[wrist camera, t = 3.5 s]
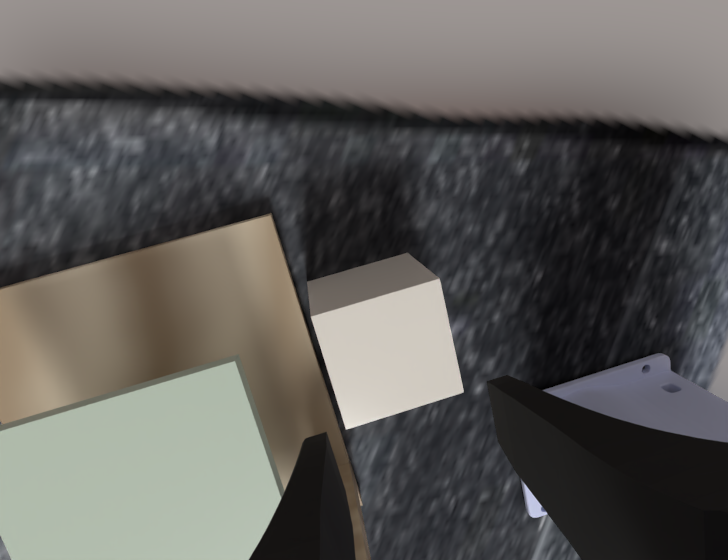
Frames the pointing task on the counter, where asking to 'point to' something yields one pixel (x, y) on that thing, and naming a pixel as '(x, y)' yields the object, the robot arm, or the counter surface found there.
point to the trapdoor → (142, 473)
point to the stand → (175, 336)
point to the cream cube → (384, 338)
